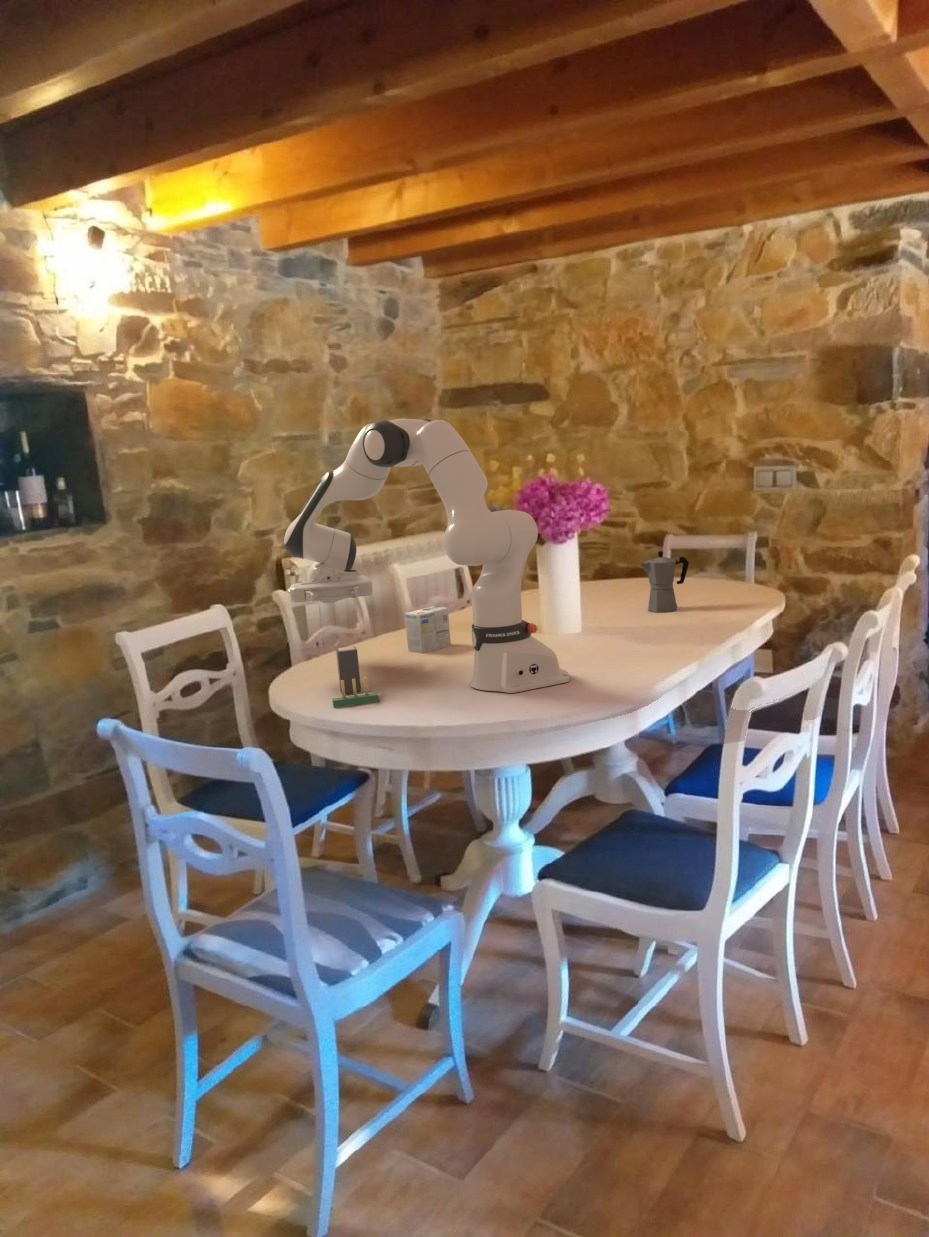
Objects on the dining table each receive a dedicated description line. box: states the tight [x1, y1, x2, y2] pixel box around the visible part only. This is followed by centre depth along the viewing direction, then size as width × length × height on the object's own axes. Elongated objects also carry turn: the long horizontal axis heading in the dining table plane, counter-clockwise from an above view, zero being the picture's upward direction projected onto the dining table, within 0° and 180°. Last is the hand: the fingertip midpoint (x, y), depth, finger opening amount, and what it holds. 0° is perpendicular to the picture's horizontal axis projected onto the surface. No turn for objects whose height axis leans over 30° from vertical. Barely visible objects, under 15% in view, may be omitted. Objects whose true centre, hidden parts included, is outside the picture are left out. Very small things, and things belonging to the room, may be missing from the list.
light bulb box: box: [404, 605, 452, 654], centre depth 255 cm, size 11×7×11 cm, turn 135°
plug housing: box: [335, 646, 362, 695], centre depth 216 cm, size 4×4×10 cm
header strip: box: [332, 676, 380, 708], centre depth 206 cm, size 10×2×6 cm, turn 103°
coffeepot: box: [639, 550, 690, 614], centre depth 282 cm, size 15×9×18 cm, turn 100°
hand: (334, 596), depth 224 cm, fingers open, 8 cm apart
